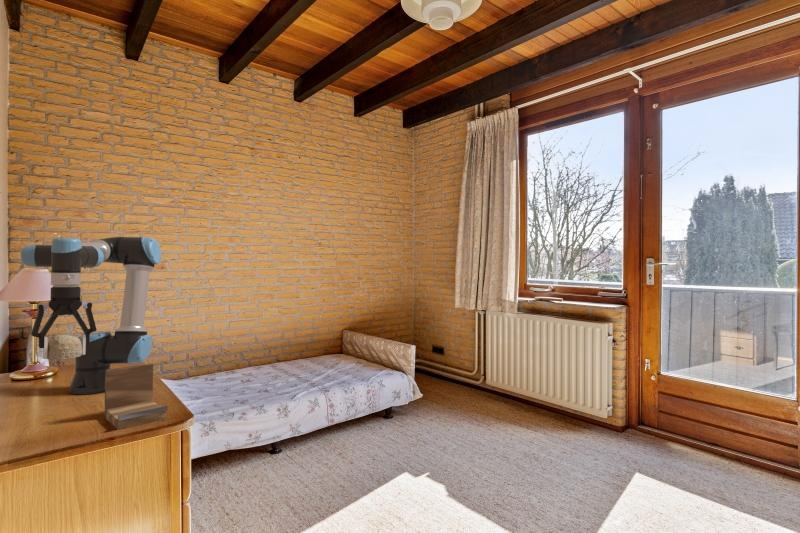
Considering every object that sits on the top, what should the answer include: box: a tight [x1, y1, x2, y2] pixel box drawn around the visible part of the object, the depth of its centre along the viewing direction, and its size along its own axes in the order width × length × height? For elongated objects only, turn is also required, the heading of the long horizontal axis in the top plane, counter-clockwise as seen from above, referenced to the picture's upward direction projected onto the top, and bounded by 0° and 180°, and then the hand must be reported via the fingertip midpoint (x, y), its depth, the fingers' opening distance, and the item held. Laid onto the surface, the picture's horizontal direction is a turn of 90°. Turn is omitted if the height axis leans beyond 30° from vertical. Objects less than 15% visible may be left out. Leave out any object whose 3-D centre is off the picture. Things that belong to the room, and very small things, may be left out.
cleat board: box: [103, 363, 169, 431], centre depth 141 cm, size 17×14×16 cm
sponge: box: [46, 333, 82, 361], centre depth 134 cm, size 9×10×10 cm
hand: (64, 356), depth 134 cm, fingers closed on sponge, 9 cm apart
